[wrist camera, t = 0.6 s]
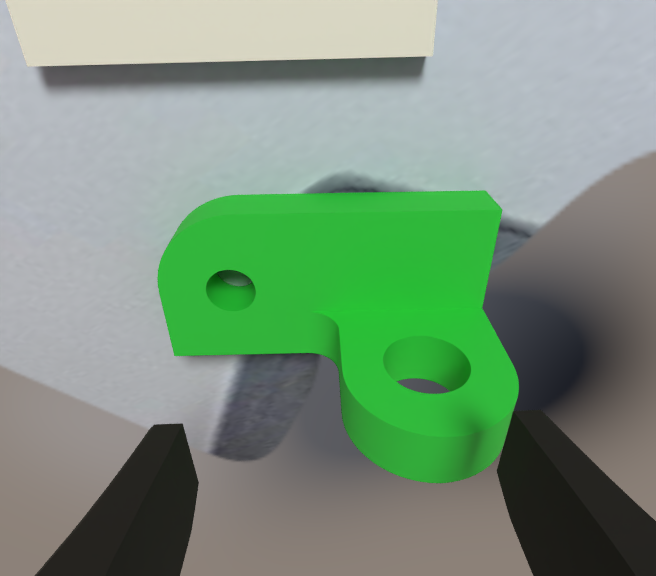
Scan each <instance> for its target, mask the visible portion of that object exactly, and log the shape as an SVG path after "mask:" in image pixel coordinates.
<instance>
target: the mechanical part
mask: <svg viewBox="0 0 656 576" xmlns="http://www.w3.org/2000/svg"><path fill="white" fill-rule="evenodd" d="M501 214H502V209H501V208H500V206H499V205H498V204H497V203H496V202H495V201H494V200H493V199H492V197H491V196H490V195H489V194H488V193H487V192H486V191H434V192H376V193H319V194H261V195H231V196H225V197H220V198H217V199H214V200H211V201H209V202H206V203H205V204H203V205H201V206H199V207H198V208H196V209H195V210H193V211H192V212H191V213H190V214H189V215H188V216H187V217H186V218H185V219H184V220H183V221H182V223H181V224H180V226H179V227H178V229H177V231H176V232H175V234H174V236H173V238H172V239H171V241H170V243H169V244H168V246H167V248H166V250H165V252H164V254H163V256H162V258H161V261H160V264H159V269H158V288H159V294H160V298H161V302H162V306H163V310H164V314H165V318H166V323H167V327H168V331H169V335H170V339H171V343H172V348H173V352H174V356H195V355H237V354H279V353H316V354H321V355H324V356H326V357H328V358H330V359H331V360H332V361H333V362H334V363H335V364H336V366H337V367H338V370H339V380H340V381H339V382H340V395H341V396H340V397H341V411H342V419H343V423H344V426H345V429H346V431H347V433H348V435H349V437H350V439H351V440H352V442H353V443H354V444H355V446H356V447H357V448H358V449H359V450H360V451H361V452H362V453H363V454H364V455H365V456H366V457H367V458H368V459H370V460H371V461H372V462H374V463H375V464H377V465H378V466H380V467H381V468H383V469H385V470H387V471H389V472H391V473H393V474H396V475H398V476H401V477H404V478H407V479H411V480H415V481H420V482H428V483H448V482H454V481H459V480H463V479H466V478H469V477H471V476H473V475H476V474H477V473H479V472H481V471H483V470H484V469H485V468H487V467H488V466H489V465H490V464H491V463H492V462H493V461H494V460H495V459H496V458H497V456H498V455H499V453H500V451H501V449H502V447H503V444H504V441H505V438H506V435H507V431H508V428H509V424H510V421H511V417H512V413H513V411H514V407H515V404H516V400H517V397H518V391H519V383H518V377H517V373H516V371H515V368H514V366H513V364H512V362H511V360H510V359H509V357H508V355H507V353H506V351H505V349H504V348H503V346H502V344H501V342H500V340H499V338H498V337H497V335H496V333H495V331H494V329H493V327H492V326H491V324H490V322H489V320H488V318H487V316H486V315H485V313H484V311H483V309H482V306H483V301H484V296H485V291H486V286H487V282H488V277H489V272H490V267H491V262H492V257H493V253H494V248H495V243H496V238H497V233H498V228H499V224H500V219H501ZM222 270H235V271H238V272H241V273H243V274H245V275H246V276H247V277H249V278H250V279H251V281H252V282H253V283H251V284H249V285H246V286H233V285H230V284H228V283H226V282H224V281H223V280H222V279H221V278H220V277H219V276H218V274H217V272H219V271H222ZM409 378H419V379H426V380H430V381H434V382H436V383H438V384H440V385H442V386H444V387H446V388H447V389H448V390H449V391H451V392H448V393H442V394H427V393H420V392H416V391H413V390H410V389H408V388H406V387H404V386H402V385H400V384H399V383H397V381H400V380H403V379H409Z"/></svg>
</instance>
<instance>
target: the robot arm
mask: <svg viewBox="0 0 656 576" xmlns="http://www.w3.org/2000/svg"><path fill="white" fill-rule="evenodd" d="M497 473H498V477H499V481H500V484H501V488H502V492H503V496H504V499H505V502H506V506H507V509H508V512H509V516H510V519H511V522H512V524H513V527H514V529H515V532H516V534H517V537H518V539H519V542H520V544H521V547H522V549H523V551H524V554H525V556H526V559H527V561H528V564H529V566H530V568H531V571H532V573H533V575H534V576H656V521H655V520H654V519H653V518H652V517H650V516H649V515H648V514H647V513H646V512H645V511H644V510H643V509H642V508H641V507H639V506H638V505H637V504H636V503H635V502H634V501H633V500H632V499H631V498H630V497H629V496H628V495H627V494H626V493H625V492H623V490H622V489H621V488H619V487H618V486H617V485H616V484H615V483H614V482H613V481H612V480H611V479H610V478H609V477H608V476H607V475H606V474H605V473H604V472H603V471H602V470H601V469H599V467H598V466H597V465H596V464H595V463H594V462H592V460H591V459H589V457H587V455H585V454H584V453H583V452H582V451H581V450H580V449H579V448H578V447H577V446H576V445H575V444H574V443H573V442H572V441H571V440H570V439H569V438H568V437H567V436H566V435H565V434H564V433H563V432H562V431H561V430H560V429H559V428H558V427H557V426H556V425H555V424H554V423H553V422H552V421H551V420H550V419H549V418H548V417H547V416H546V415H545V414H544V413H543V412H542V411H541V410H528V411H513V413H512V417H511V421H510V424H509V428H508V432H507V435H506V439H505V443H504V446H503V450H502V454H501V457H500V461H499V465H498V469H497ZM198 483H199V482H198V479H197V475H196V471H195V468H194V464H193V460H192V457H191V453H190V449H189V445H188V442H187V438H186V434H185V431H184V427H183V424H159V425H154V426H152V427H151V428H150V430H149V431H148V432H147V434H146V435H145V437H144V438H143V439H142V441H141V442H140V444H139V445H138V446H137V448H136V449H135V451H134V452H133V453H132V455H131V456H130V458H129V459H128V460H127V462H126V463H125V464H124V466H123V467H122V468H121V470H120V471H119V472H118V474H117V475H116V476H115V478H114V479H113V481H112V482H111V483H110V485H109V486H108V487H107V488H106V490H105V491H104V492H103V494H102V495H101V496H100V497H99V499H98V500H97V501H96V502H95V504H94V505H93V506H92V508H91V509H90V510H89V512H88V513H87V514H86V515H85V517H84V518H83V519H82V520H81V522H80V523H79V524H78V525H77V526H76V528H75V529H74V530H73V531H72V533H71V534H70V535H69V536H68V537H67V538H66V540H65V541H64V542H63V543H62V544H61V546H60V547H59V548H58V549H57V550H56V551H55V553H54V554H53V555H52V556H51V557H50V558H49V560H48V561H47V562H46V563H45V564H44V566H43V567H42V568H41V569H40V570H39V571H38V572H37V574H36V575H35V576H180V573H181V569H182V565H183V561H184V558H185V553H186V549H187V546H188V542H189V538H190V534H191V530H192V524H193V517H194V511H195V505H196V498H197V491H198Z"/></svg>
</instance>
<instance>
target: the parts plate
mask: <svg viewBox="0 0 656 576" xmlns="http://www.w3.org/2000/svg"><path fill="white" fill-rule="evenodd" d="M437 2H438V0H6V3H7V6H8V9H9V12H10V15H11V18H12V21H13V24H14V28H15V31H16V34H17V37H18V40H19V43H20V46H21V49H22V52H23V55H24V58H25V61H26V64H27V67H28V66H67V65H106V64H146V63H185V62H224V61H264V60H303V59H342V58H382V57H421V56H433V47H434V36H435V25H436V13H437Z"/></svg>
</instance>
